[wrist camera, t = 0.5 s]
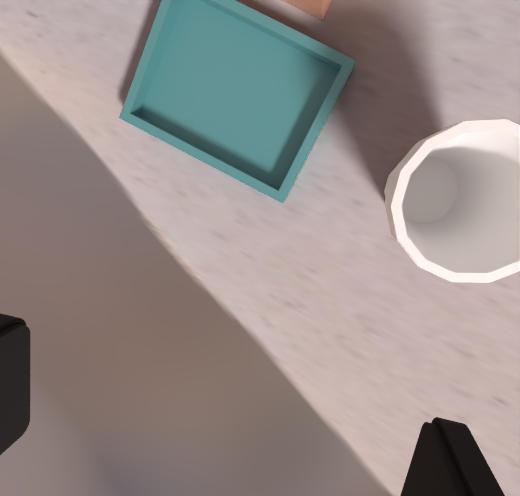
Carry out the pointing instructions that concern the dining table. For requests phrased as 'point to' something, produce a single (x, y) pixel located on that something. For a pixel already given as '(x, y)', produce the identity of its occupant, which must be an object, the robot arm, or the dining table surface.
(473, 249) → the foam cup
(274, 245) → the dining table surface
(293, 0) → the holder cup
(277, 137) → the tray
